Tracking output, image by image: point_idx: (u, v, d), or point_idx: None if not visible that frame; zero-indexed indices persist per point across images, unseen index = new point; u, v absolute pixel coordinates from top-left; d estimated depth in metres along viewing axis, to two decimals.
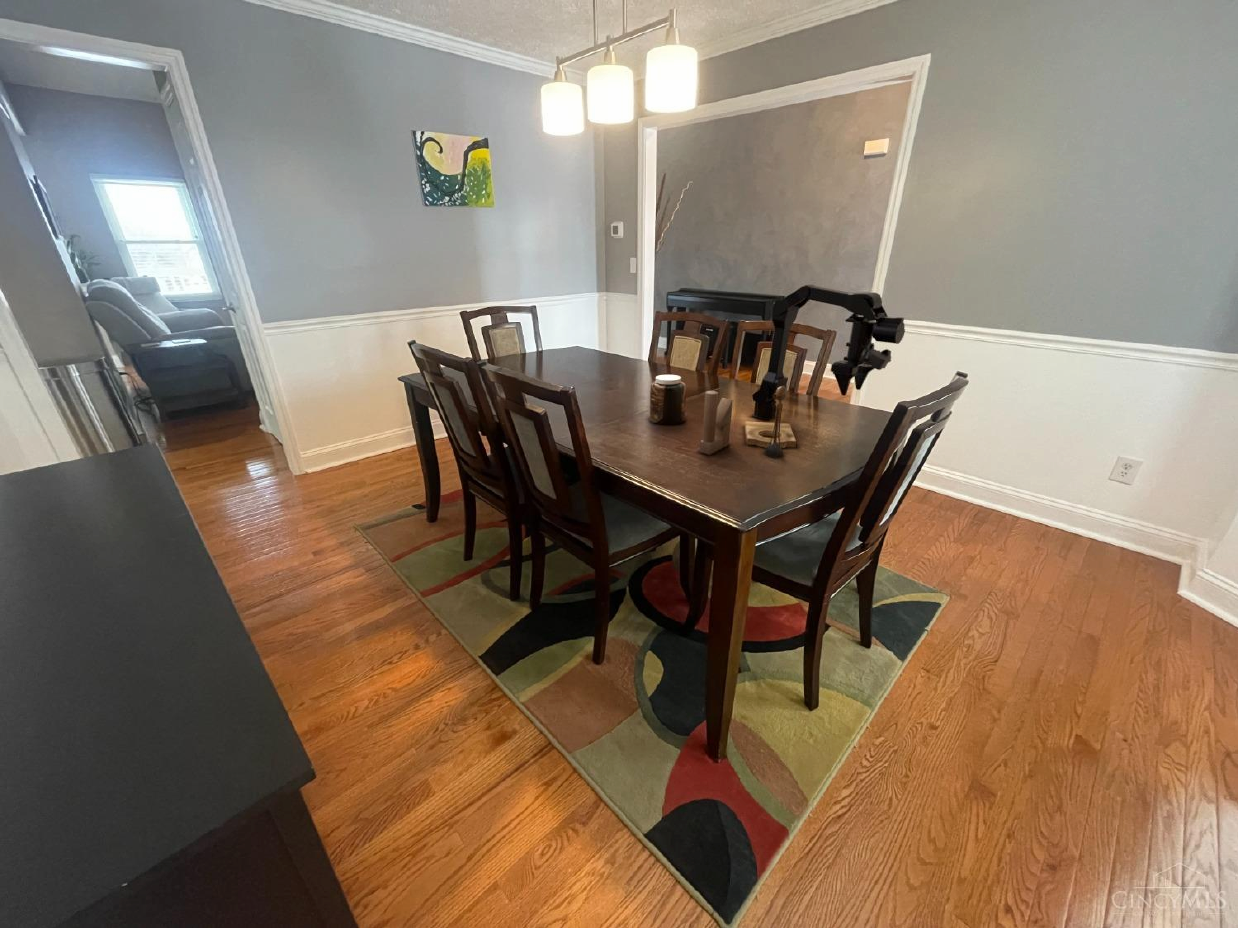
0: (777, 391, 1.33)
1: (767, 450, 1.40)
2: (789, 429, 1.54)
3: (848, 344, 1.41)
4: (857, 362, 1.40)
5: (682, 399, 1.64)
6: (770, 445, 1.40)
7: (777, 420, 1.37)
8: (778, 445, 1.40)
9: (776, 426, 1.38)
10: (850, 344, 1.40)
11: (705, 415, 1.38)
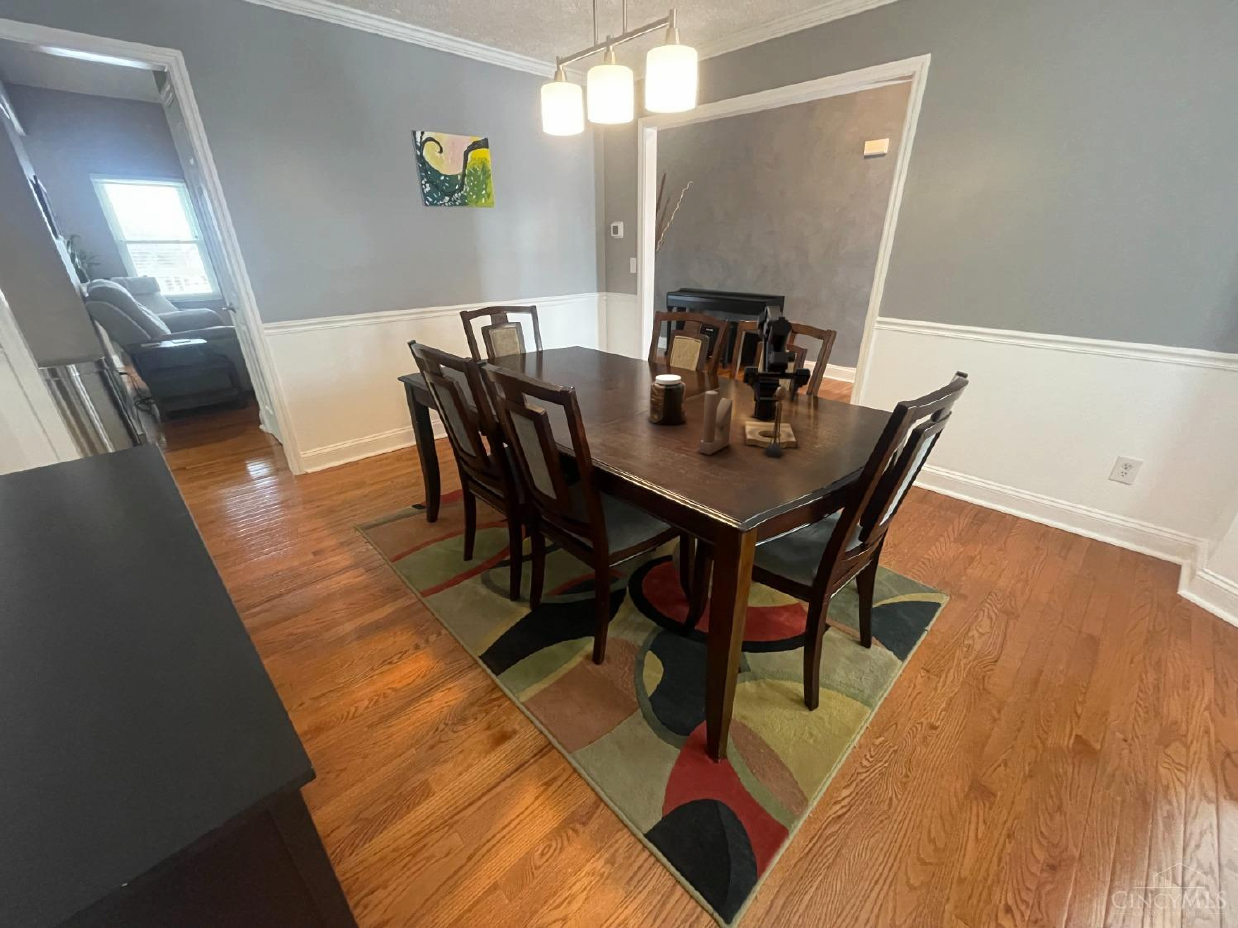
0: (777, 391, 1.33)
1: (767, 450, 1.40)
2: (789, 429, 1.54)
3: None
4: (768, 370, 1.46)
5: (682, 399, 1.64)
6: (770, 445, 1.40)
7: (777, 420, 1.37)
8: (778, 445, 1.40)
9: (776, 426, 1.38)
10: None
11: (705, 415, 1.38)
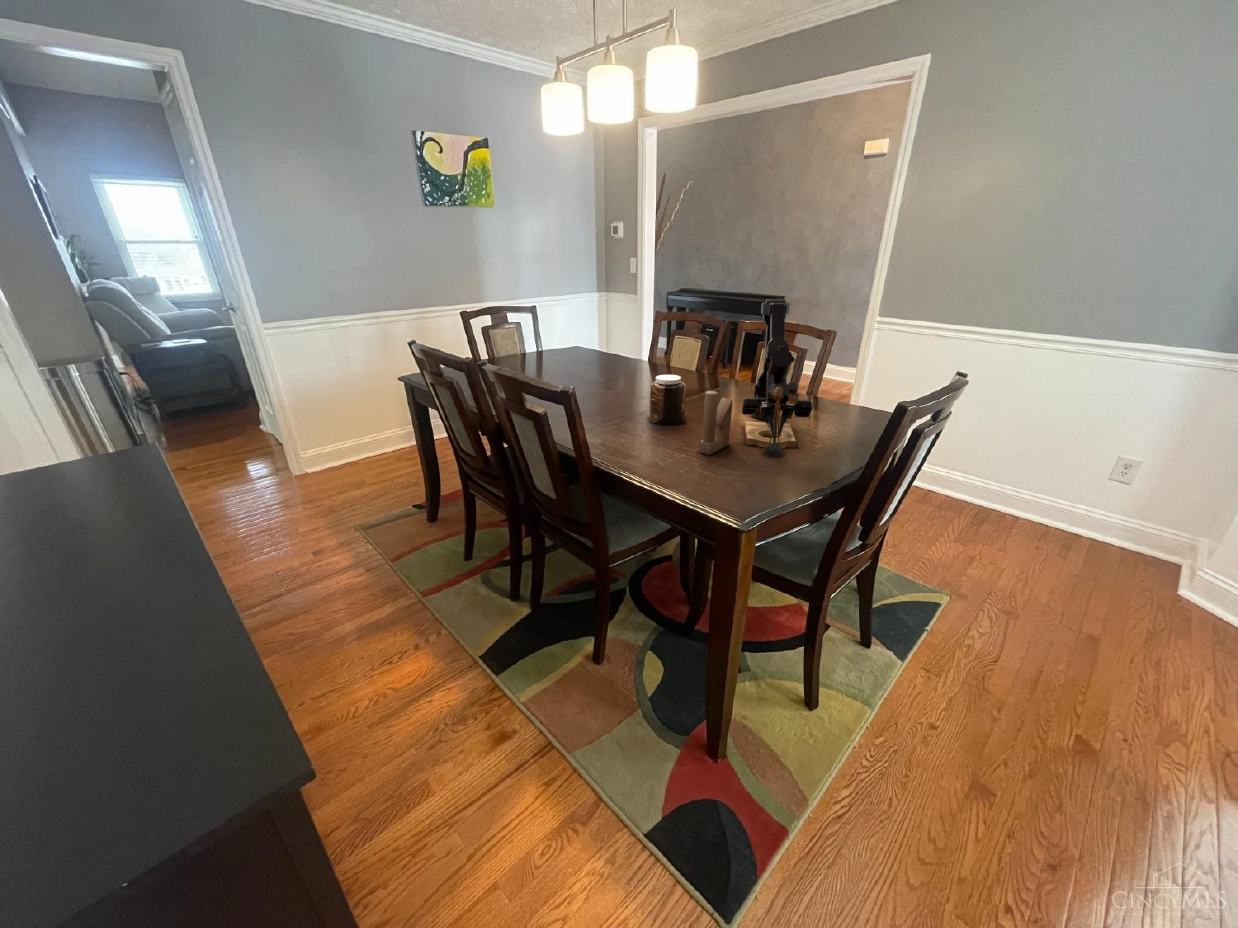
0: (775, 391, 1.33)
1: (767, 450, 1.40)
2: (789, 429, 1.54)
3: None
4: (768, 401, 1.40)
5: (682, 399, 1.64)
6: (770, 445, 1.40)
7: (776, 420, 1.37)
8: (778, 445, 1.40)
9: (775, 426, 1.38)
10: None
11: (705, 415, 1.38)
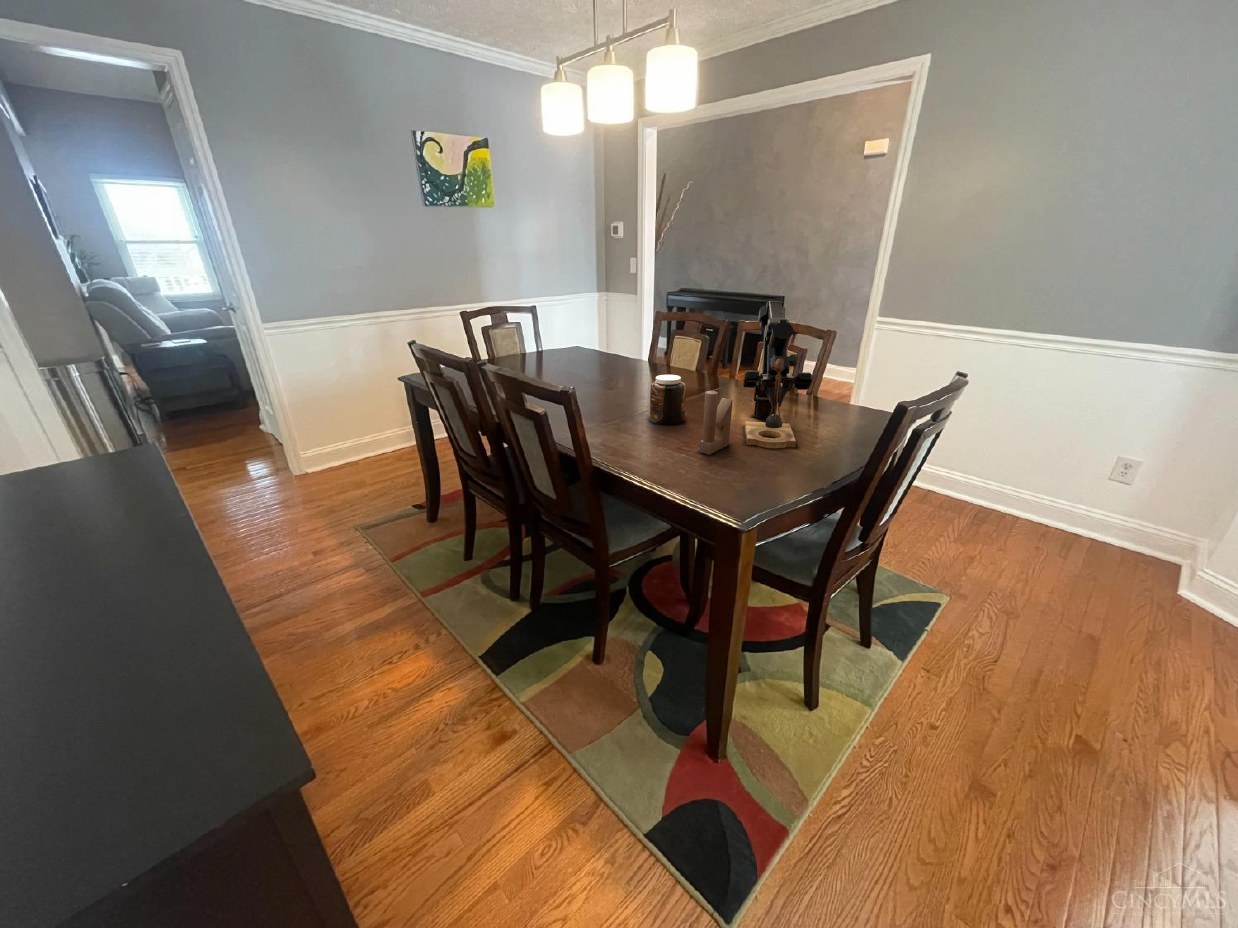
0: (776, 363, 1.36)
1: (767, 422, 1.43)
2: (789, 429, 1.54)
3: None
4: (769, 374, 1.43)
5: (682, 399, 1.64)
6: (770, 417, 1.43)
7: (776, 392, 1.40)
8: (778, 417, 1.42)
9: (776, 398, 1.41)
10: None
11: (705, 415, 1.38)
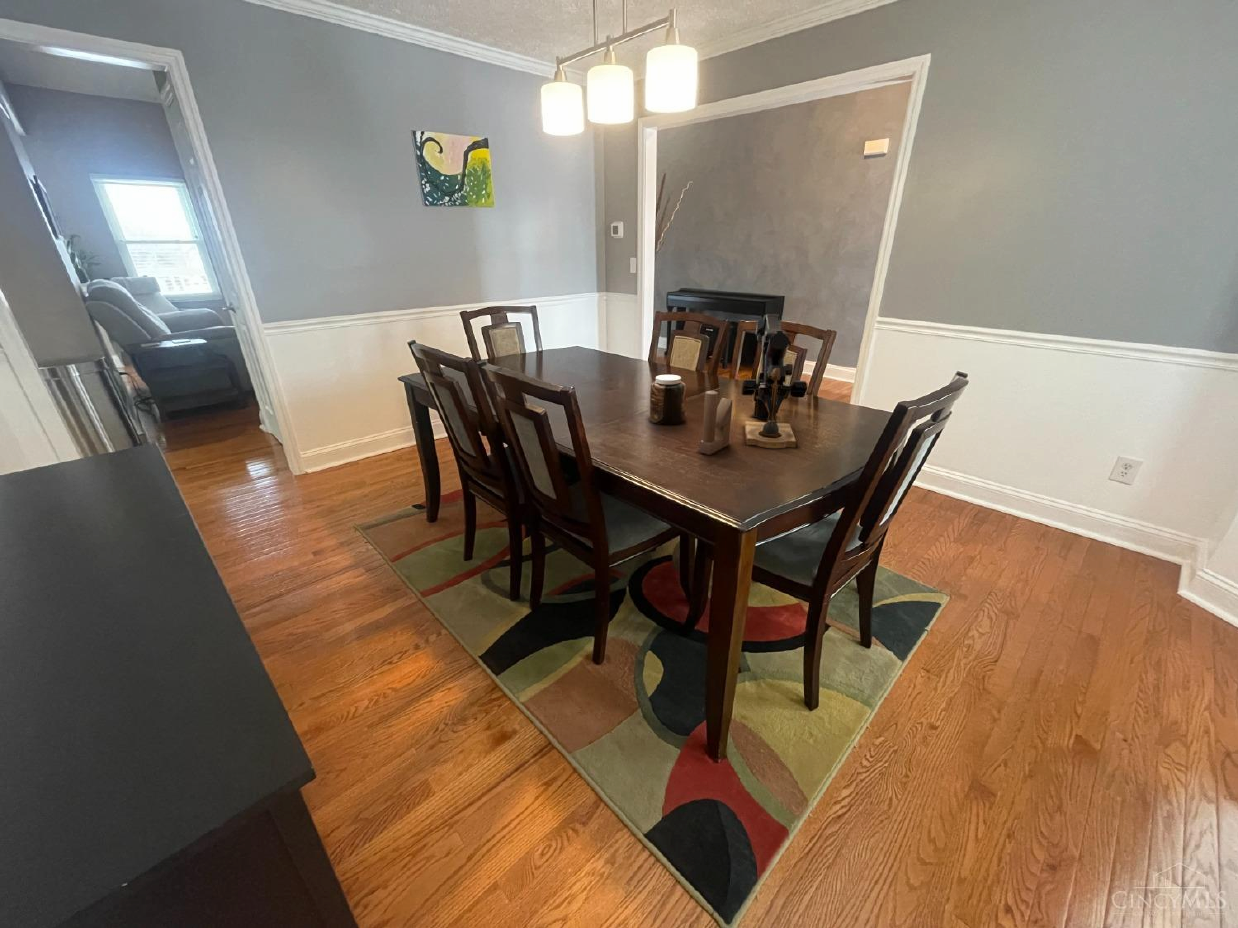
0: (772, 372, 1.42)
1: (764, 428, 1.50)
2: (789, 429, 1.54)
3: None
4: (766, 382, 1.49)
5: (682, 399, 1.64)
6: (767, 423, 1.50)
7: (773, 399, 1.46)
8: (775, 423, 1.49)
9: (772, 405, 1.47)
10: None
11: (705, 415, 1.38)
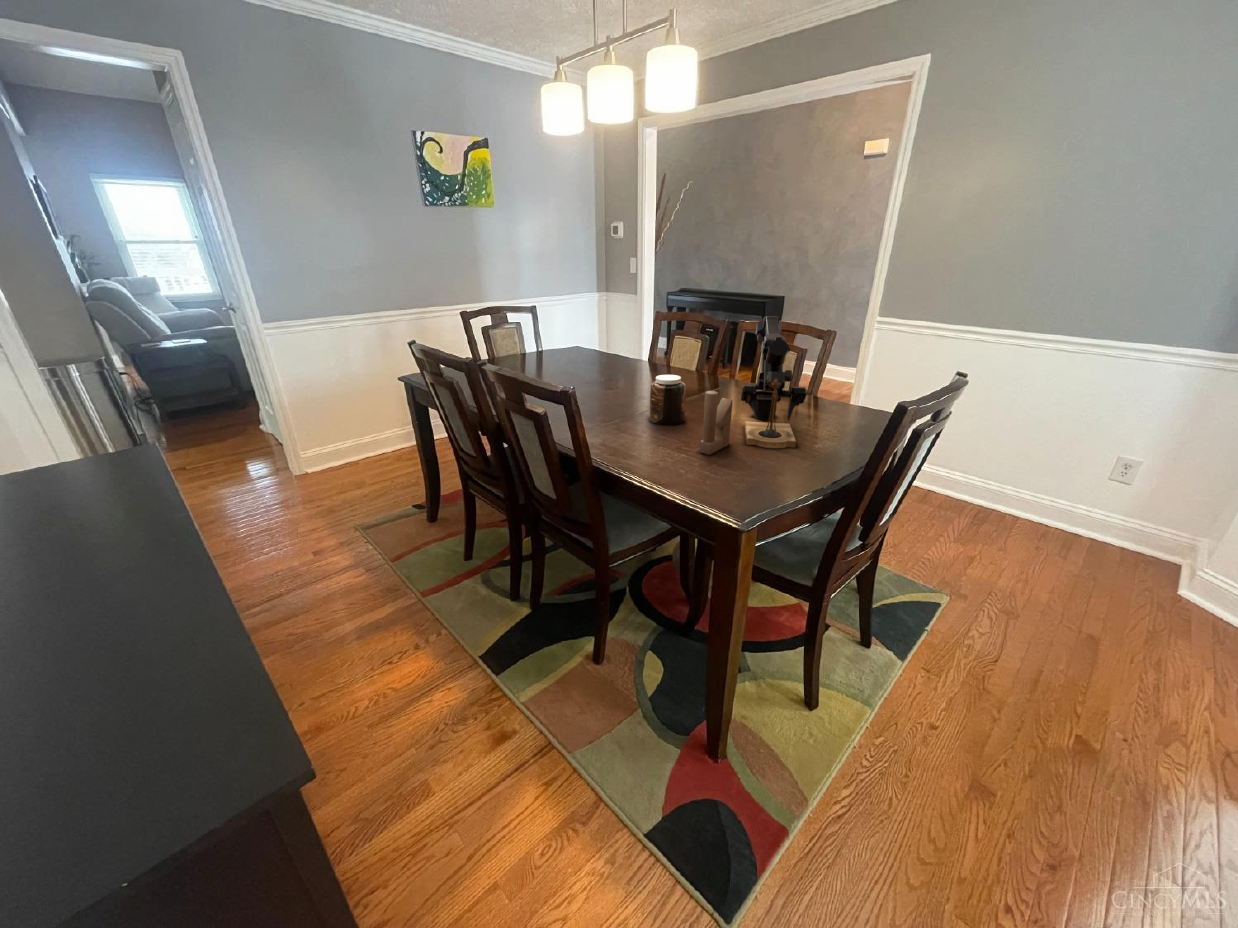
0: None
1: (764, 436, 1.51)
2: (789, 429, 1.54)
3: None
4: (765, 388, 1.50)
5: (682, 399, 1.64)
6: (766, 431, 1.51)
7: (773, 407, 1.48)
8: (774, 431, 1.50)
9: (772, 413, 1.48)
10: None
11: (705, 415, 1.38)
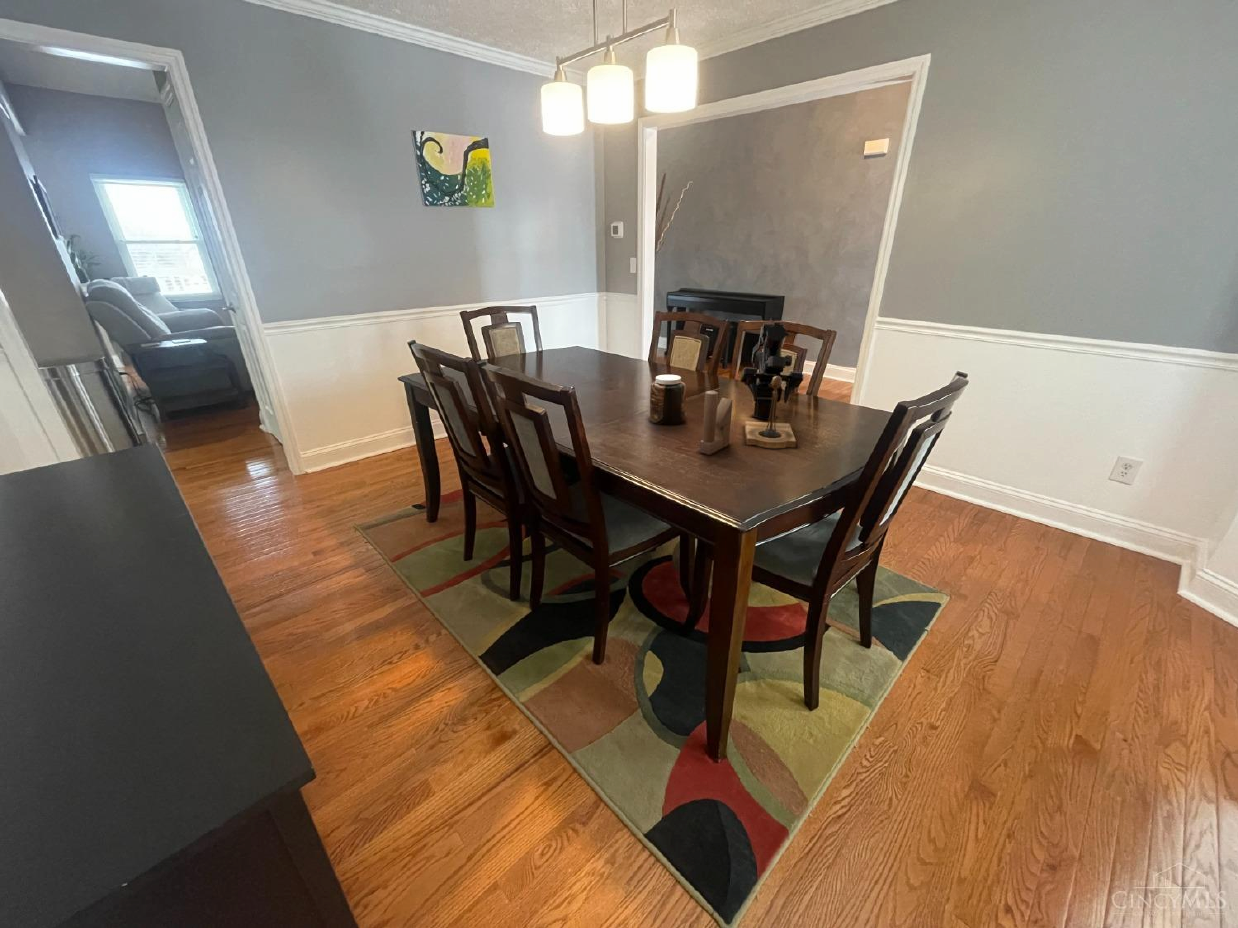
0: (773, 380, 1.44)
1: (764, 436, 1.51)
2: (789, 429, 1.54)
3: (762, 364, 1.62)
4: (764, 371, 1.57)
5: (682, 399, 1.64)
6: (766, 431, 1.51)
7: (773, 407, 1.48)
8: (774, 431, 1.50)
9: (772, 413, 1.48)
10: (763, 363, 1.61)
11: (705, 415, 1.38)
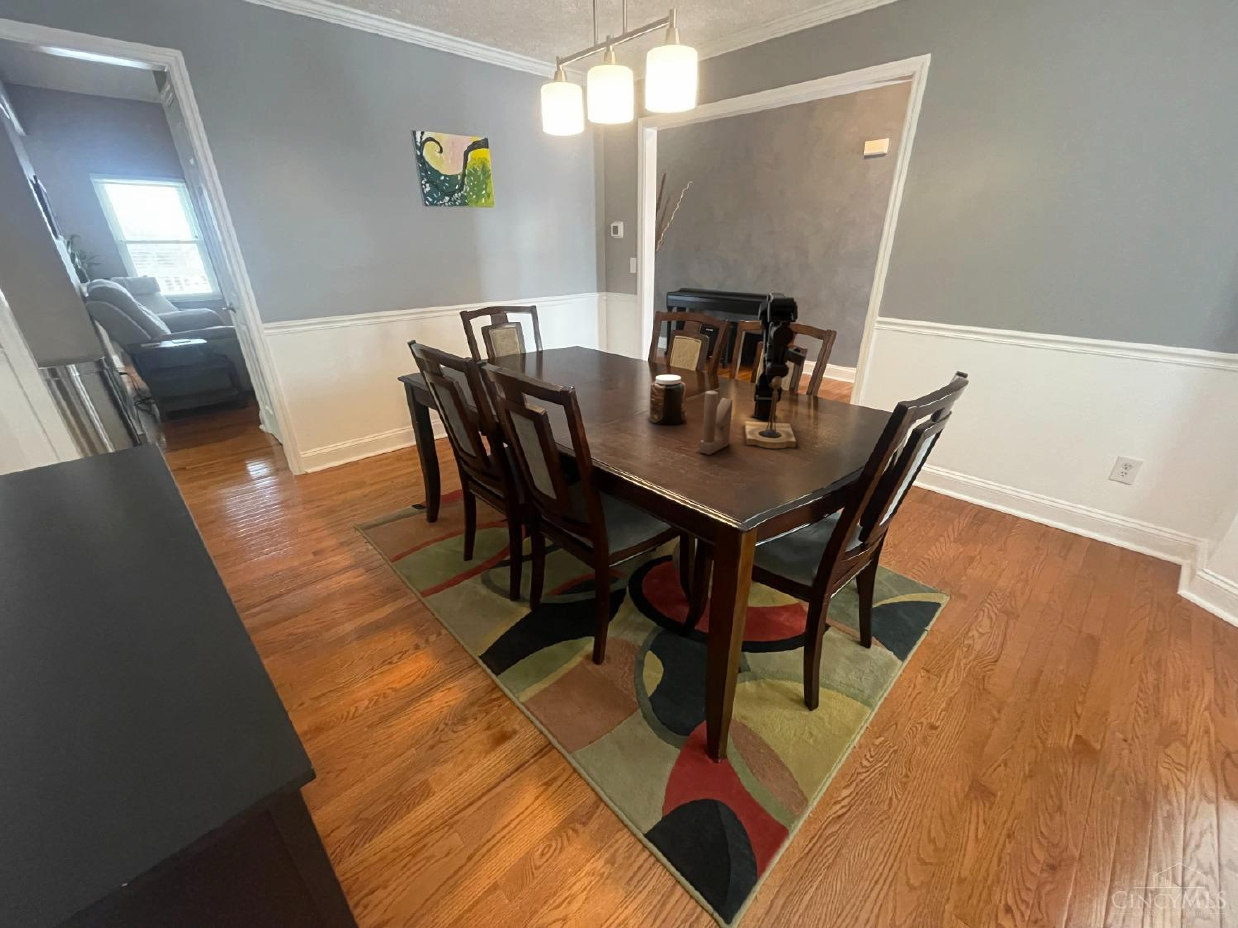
0: (773, 380, 1.44)
1: (764, 436, 1.51)
2: (789, 429, 1.54)
3: (770, 346, 1.48)
4: (780, 362, 1.49)
5: (682, 399, 1.64)
6: (766, 431, 1.51)
7: (773, 408, 1.48)
8: (774, 431, 1.50)
9: (772, 413, 1.48)
10: (772, 346, 1.47)
11: (705, 415, 1.38)
